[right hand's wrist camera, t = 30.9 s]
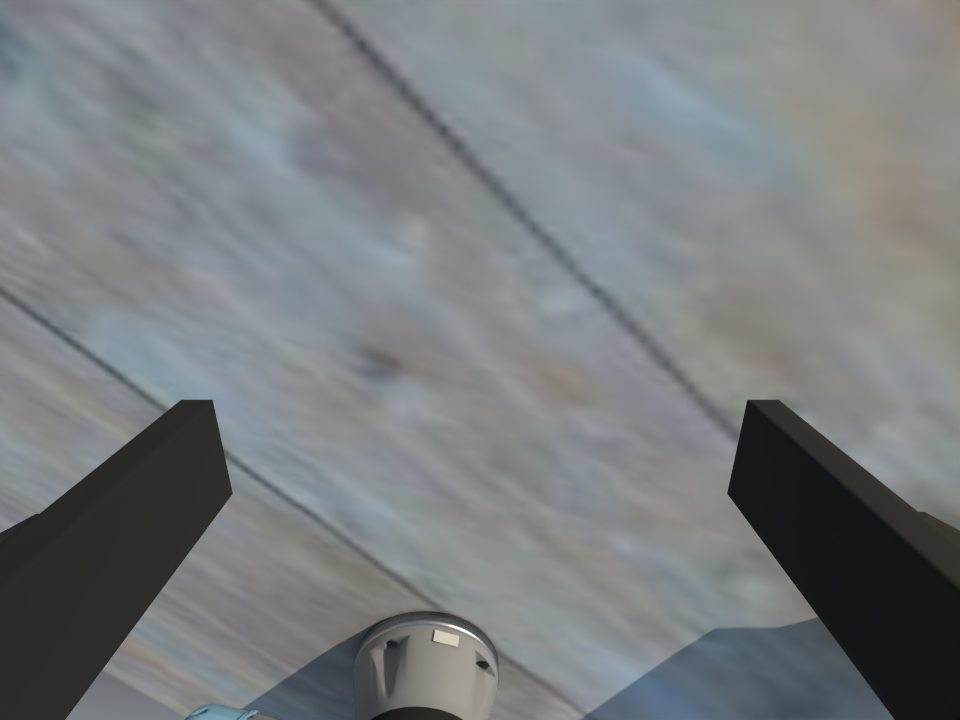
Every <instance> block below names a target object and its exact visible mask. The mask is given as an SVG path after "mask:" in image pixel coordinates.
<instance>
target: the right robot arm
mask: <svg viewBox="0 0 960 720" xmlns="http://www.w3.org/2000/svg"><path fill="white" fill-rule="evenodd" d="M232 494H233V493H232V488H231V484H230V479H229V474H228V470H227V465H226V460H225V456H224V451H223V446H222V442H221V437H220V432H219V428H218V423H217V418H216V414H215V409H214V405H213V400H181V401H179V402H178V403H177V404H176V405H174V406H173V407H172V408H171V409H169V410H168V411H167V412H166V413H164V414H163V415H162V416H161V417H159V418H158V419H157V420H156V421H154V422H153V423H152V424H151V425H149V426H148V427H147V428H146V429H145V430H143V431H142V432H141V433H140V434H138V435H137V436H136V437H135V438H133V439H132V440H131V441H130V442H128V443H127V444H126V445H125V446H123V447H122V448H121V449H120V450H118V451H117V452H116V453H115V454H113V455H112V456H111V457H110V458H108V459H107V460H106V461H105V462H103V463H102V464H101V465H100V466H99V467H97V468H96V469H95V470H94V471H92V472H91V473H90V474H89V475H87V476H86V477H85V478H84V479H82V480H81V481H80V482H79V483H77V484H76V485H75V486H74V487H72V488H71V489H70V490H69V491H67V492H66V493H65V494H64V495H62V496H61V497H60V498H59V499H57V500H56V501H55V502H54V503H53V504H51V505H50V506H49V507H48V508H46V509H45V510H44V511H43V512H41V513H40V514H35V515H33V516H31V517H29V518H28V519H26V520H24V521H22V522H20V523H18V524H16V525H15V526H13V527H11V528H9V529H7V530H5V531H3V532H1V533H0V720H65V719H66V718H67V716H68V715H69V714H70V712H71V711H72V710H73V708H74V707H75V706H76V704H77V703H78V702H79V700H80V699H81V698H82V696H83V695H84V694H85V692H86V691H87V689H88V688H89V687H90V685H91V684H92V683H93V681H94V680H95V679H96V677H97V676H98V675H99V673H100V672H101V671H102V669H103V668H104V667H105V665H106V664H107V662H108V661H109V660H110V658H111V657H112V656H113V654H114V653H115V652H116V650H117V649H118V648H119V646H120V645H121V644H122V642H123V641H124V640H125V638H126V637H127V635H128V634H129V633H130V631H131V630H132V629H133V627H134V626H135V625H136V623H137V622H138V621H139V619H140V618H141V617H142V615H143V614H144V613H145V611H146V610H147V608H148V607H149V606H150V604H151V603H152V602H153V600H154V599H155V598H156V596H157V595H158V594H159V592H160V591H161V590H162V588H163V587H164V586H165V584H166V583H167V581H168V580H169V579H170V577H171V576H172V575H173V573H174V572H175V571H176V569H177V568H178V567H179V565H180V564H181V563H182V561H183V560H184V559H185V557H186V556H187V554H188V553H189V552H190V550H191V549H192V548H193V546H194V545H195V544H196V542H197V541H198V540H199V538H200V537H201V536H202V534H203V533H204V532H205V530H206V529H207V527H208V526H209V525H210V523H211V522H212V521H213V519H214V518H215V517H216V515H217V514H218V513H219V511H220V510H221V509H222V507H223V506H224V505H225V503H226V502H227V500H228V499H229V498H230V496H231V495H232ZM727 494H728V495H729V496H730V498H731V499H732V500H733V502H734V503H735V505H736V506H737V507H738V509H739V510H740V511H741V513H742V514H743V515H744V517H745V518H746V519H747V521H748V522H749V523H750V525H751V526H752V527H753V529H754V530H755V532H756V533H757V534H758V536H759V537H760V538H761V540H762V541H763V542H764V544H765V545H766V546H767V548H768V549H769V550H770V552H771V553H772V554H773V556H774V557H775V559H776V560H777V561H778V563H779V564H780V565H781V567H782V568H783V569H784V571H785V572H786V573H787V575H788V576H789V577H790V579H791V580H792V581H793V583H794V584H795V586H796V587H797V588H798V590H799V591H800V592H801V594H802V595H803V596H804V598H805V599H806V600H807V602H808V603H809V604H810V606H811V607H812V608H813V610H814V611H815V613H816V614H817V615H818V617H819V618H820V619H821V621H822V622H823V623H824V625H825V626H826V627H827V629H828V630H829V631H830V633H831V634H832V635H833V637H834V638H835V640H836V641H837V642H838V644H839V645H840V646H841V648H842V649H843V650H844V652H845V653H846V654H847V656H848V657H849V658H850V660H851V661H852V662H853V664H854V665H855V667H856V668H857V669H858V671H859V672H860V673H861V675H862V676H863V677H864V679H865V680H866V681H867V683H868V684H869V685H870V687H871V688H872V689H873V691H874V692H875V694H876V695H877V696H878V698H879V699H880V700H881V702H882V703H883V704H884V706H885V707H886V708H887V710H888V711H889V712H890V714H891V715H892V716H893V718H894V719H895V720H960V531H959V530H957V529H955V528H953V527H952V526H950V525H948V524H946V523H944V522H942V521H940V520H938V519H936V518H935V517H933V516H931V515H929V514H927V513H925V512H917V511H916V510H915V509H914V508H912V507H911V506H910V505H909V504H907V503H906V502H905V501H904V500H903V499H901V498H900V497H899V496H898V495H896V494H895V493H894V492H893V491H891V490H890V489H889V488H888V487H886V486H885V485H884V484H883V483H881V482H880V481H879V480H878V479H876V478H875V477H874V476H873V475H871V474H870V473H869V472H868V471H866V470H865V469H864V468H863V467H861V466H860V465H859V464H858V463H857V462H855V461H854V460H853V459H852V458H850V457H849V456H848V455H847V454H845V453H844V452H843V451H842V450H840V449H839V448H838V447H837V446H835V445H834V444H833V443H832V442H830V441H829V440H828V439H827V438H825V437H824V436H823V435H822V434H820V433H819V432H818V431H817V430H815V429H814V428H813V427H812V426H811V425H809V424H808V423H807V422H806V421H804V420H803V419H802V418H801V417H799V416H798V415H797V414H796V413H794V412H793V411H792V410H791V409H789V408H788V407H787V406H786V405H784V404H783V403H782V402H781V401H779V400H747V404H746V409H745V414H744V418H743V423H742V428H741V432H740V437H739V442H738V446H737V451H736V456H735V460H734V465H733V470H732V474H731V479H730V484H729V488H728V493H727ZM498 682H499V671H498V657H497V653H496V650H495V648H494V646H493V644H492V642H491V641H490V639H489V638H488V637H487V636H486V635H485V634H484V633H483V632H482V631H481V630H480V629H479V628H477V627H476V626H474V625H473V624H471V623H469V622H468V621H466V620H463V619H461V618H458V617H456V616H452V615H449V614H444V613H439V612H426V611H424V612H410V613H405V614H401V615H397V616H394V617H391V618H389V619H387V620H385V621H383V622H381V623H379V624H378V625H376V626H375V627H374V628H372V629H371V630H370V631H369V632H368V633H367V634H366V635H365V637H364V638H363V640H362V641H361V643H360V645H359V648H358V651H357V655H356V659H355V663H354V667H353V686H354V697H355V709H356V720H488V719H489V715H490V712H491V709H492V705H493V702H494V698H495V695H496V692H497V687H498ZM185 720H280V719H277V718H273V717H270V716H267V715H264V714H260V712H259V711H258V710H255V709H253V710H250V711H247V710H242V709H237V708H233V707H229V706H225V705H220V704H209V705H205V706H202V707H200V708H198V709H197V710H195V711H194V712H192V713H191V714H190V715H189V716H188V717H187V718H186V719H185Z"/></svg>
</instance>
